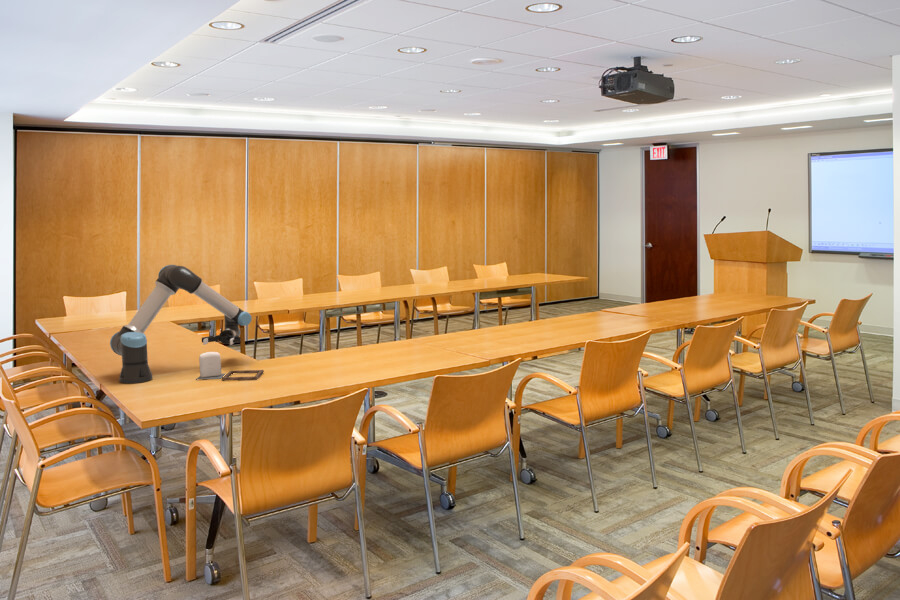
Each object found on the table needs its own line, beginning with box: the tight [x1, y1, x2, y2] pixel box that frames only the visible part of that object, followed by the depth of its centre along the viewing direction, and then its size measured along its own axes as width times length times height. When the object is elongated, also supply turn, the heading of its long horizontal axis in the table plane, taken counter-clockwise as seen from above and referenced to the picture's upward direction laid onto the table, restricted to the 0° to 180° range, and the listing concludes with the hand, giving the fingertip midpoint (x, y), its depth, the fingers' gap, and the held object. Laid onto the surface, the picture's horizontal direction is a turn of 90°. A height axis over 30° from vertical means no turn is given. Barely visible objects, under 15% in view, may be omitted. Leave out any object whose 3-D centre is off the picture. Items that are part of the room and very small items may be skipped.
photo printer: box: [198, 351, 222, 378], centre depth 369 cm, size 10×4×12 cm, turn 115°
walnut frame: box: [221, 369, 265, 381], centre depth 370 cm, size 17×17×2 cm
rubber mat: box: [195, 373, 226, 381], centre depth 369 cm, size 12×12×1 cm
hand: (217, 342), depth 379 cm, fingers open, 13 cm apart
